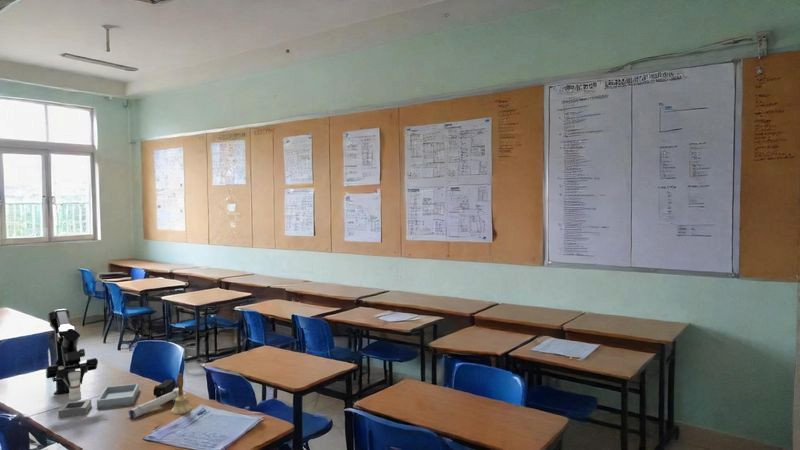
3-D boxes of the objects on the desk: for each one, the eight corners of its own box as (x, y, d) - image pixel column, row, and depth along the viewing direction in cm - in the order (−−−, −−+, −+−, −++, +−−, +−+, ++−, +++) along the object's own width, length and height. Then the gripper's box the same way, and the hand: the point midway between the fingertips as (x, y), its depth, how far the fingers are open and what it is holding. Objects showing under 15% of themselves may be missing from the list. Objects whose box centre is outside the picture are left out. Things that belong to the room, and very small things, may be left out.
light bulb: (70, 398, 222) (69, 371, 222) (82, 397, 223) (81, 370, 223) (67, 402, 218) (66, 374, 217) (79, 400, 219) (78, 373, 219)
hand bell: (183, 414, 217) (183, 377, 216) (166, 413, 219) (165, 376, 218) (195, 407, 225) (194, 371, 224) (178, 406, 227) (177, 370, 226)
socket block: (65, 409, 224) (65, 402, 224) (91, 406, 227) (91, 399, 227) (58, 417, 215) (58, 410, 214) (85, 414, 218) (85, 407, 218)
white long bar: (127, 408, 215) (179, 382, 236) (129, 423, 216) (181, 396, 237) (134, 411, 212) (186, 385, 233) (136, 426, 213) (188, 398, 234)
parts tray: (105, 394, 241) (105, 386, 241) (138, 390, 246) (138, 383, 246) (97, 408, 224) (96, 400, 224) (132, 404, 229) (132, 396, 229)
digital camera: (163, 394, 241) (163, 379, 241) (175, 394, 241) (174, 379, 241) (153, 402, 231) (152, 387, 231) (165, 402, 231) (165, 387, 231)
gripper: (46, 347, 217) (50, 380, 209) (96, 340, 229) (102, 370, 221) (44, 361, 223) (48, 393, 215) (93, 353, 235) (99, 383, 227)
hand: (75, 384), depth 219 cm, fingers closed on light bulb, 4 cm apart
